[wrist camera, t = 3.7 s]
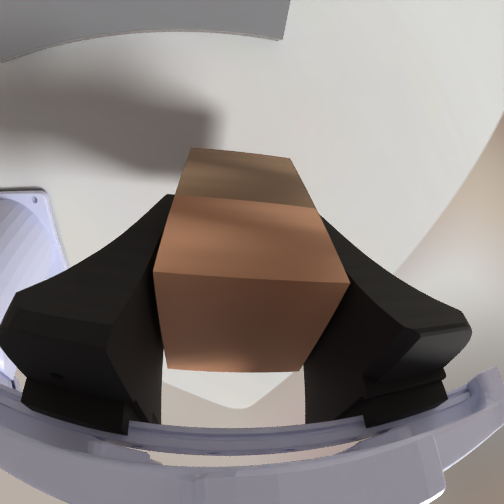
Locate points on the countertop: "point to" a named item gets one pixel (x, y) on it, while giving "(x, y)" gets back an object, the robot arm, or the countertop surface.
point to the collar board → (130, 20)
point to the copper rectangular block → (244, 267)
